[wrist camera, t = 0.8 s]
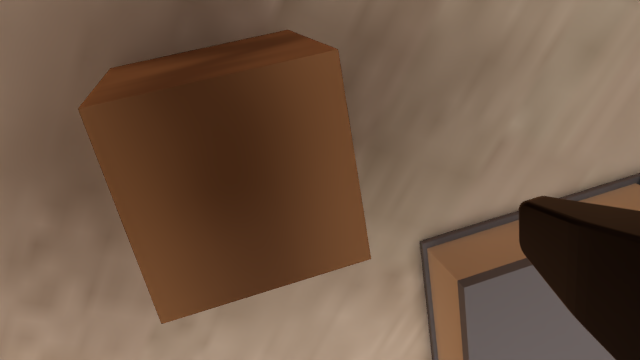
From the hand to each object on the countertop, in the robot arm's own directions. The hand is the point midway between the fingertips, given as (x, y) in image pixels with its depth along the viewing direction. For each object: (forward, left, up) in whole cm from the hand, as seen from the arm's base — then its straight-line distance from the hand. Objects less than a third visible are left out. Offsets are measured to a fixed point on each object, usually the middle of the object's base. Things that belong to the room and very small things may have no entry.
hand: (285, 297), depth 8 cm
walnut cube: (0, 0, -11) cm, 11 cm away
